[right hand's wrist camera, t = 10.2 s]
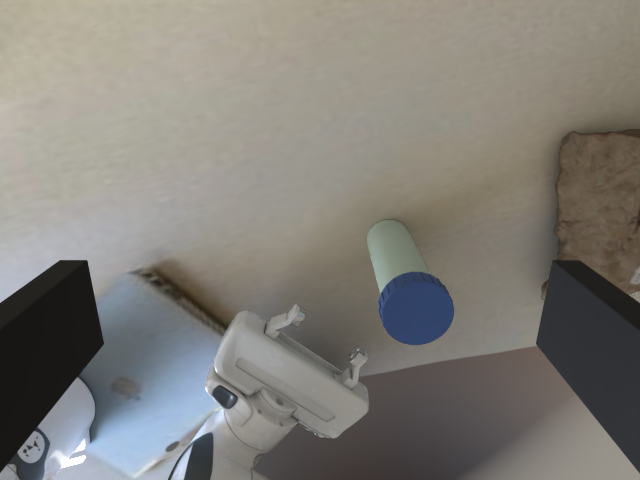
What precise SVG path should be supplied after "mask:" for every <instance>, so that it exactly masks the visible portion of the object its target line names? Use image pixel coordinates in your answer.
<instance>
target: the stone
mask: <svg viewBox="0 0 640 480" xmlns="http://www.w3.org/2000/svg"><path fill="white" fill-rule="evenodd" d="M559 166H560V169H561V172H560V174H559V176H558V180H557V182H556V184H555V185H556V192H557V196H558V206H559V207H558V210H557V221H556V225H555V227H554V234H555V235H556V236H558V237H559V240H560V241H559V244H558V245H559V249H560V250H559V252H558V254H557V259H558V260H580V261H582V262H583V263H584V264H586V265H587V266H589V267H590V268H591V269H593V270H594V271H596V272H597V273H598V274H600V275H601V276H603V277H604V278H605V279H607V280H608V281H610V282H611V283H612V284H614V285H615V286H617V287H618V288H619V289H621V290H622V291H624V292H625V293H626V294H631V293H634V292H637V291H640V129H632V130H626V131H623V132H620V133H616V132H607V133H594V134H579V133H578V132H575V131H573V132H570V133H569V134H568V135H567V136H566V137H565V138H564V139H563V141H562V146H561V148H560V153H559ZM548 282H549V279H548V280H547V281H546V282H545V283H544V284H543V285H542V287H541V290H542V296H541V297H542V299H543V300H545V297H546V292H547V287H548Z"/></svg>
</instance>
